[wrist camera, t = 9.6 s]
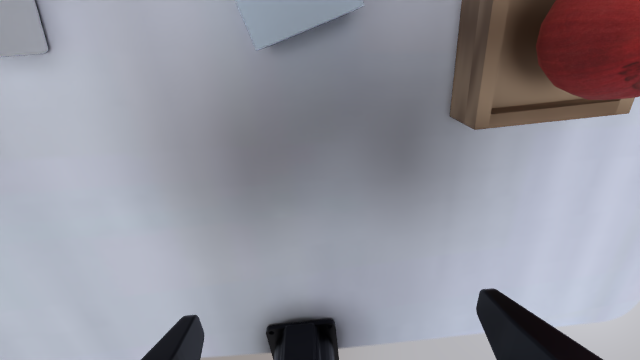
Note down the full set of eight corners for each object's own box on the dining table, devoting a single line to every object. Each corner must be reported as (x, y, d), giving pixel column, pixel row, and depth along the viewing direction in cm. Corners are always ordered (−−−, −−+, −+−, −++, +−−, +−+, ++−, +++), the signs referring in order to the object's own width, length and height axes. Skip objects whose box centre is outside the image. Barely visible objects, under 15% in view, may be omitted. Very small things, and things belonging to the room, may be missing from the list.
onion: (615, 58, 17) (863, 60, 9) (515, 109, 17) (668, 147, 10) (601, -54, 15) (906, -167, 7) (489, 10, 15) (657, -33, 8)
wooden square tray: (575, 100, 20) (628, 113, 17) (446, 114, 20) (474, 129, 17) (622, -64, 16) (704, -89, 13) (462, -47, 16) (503, -69, 13)
